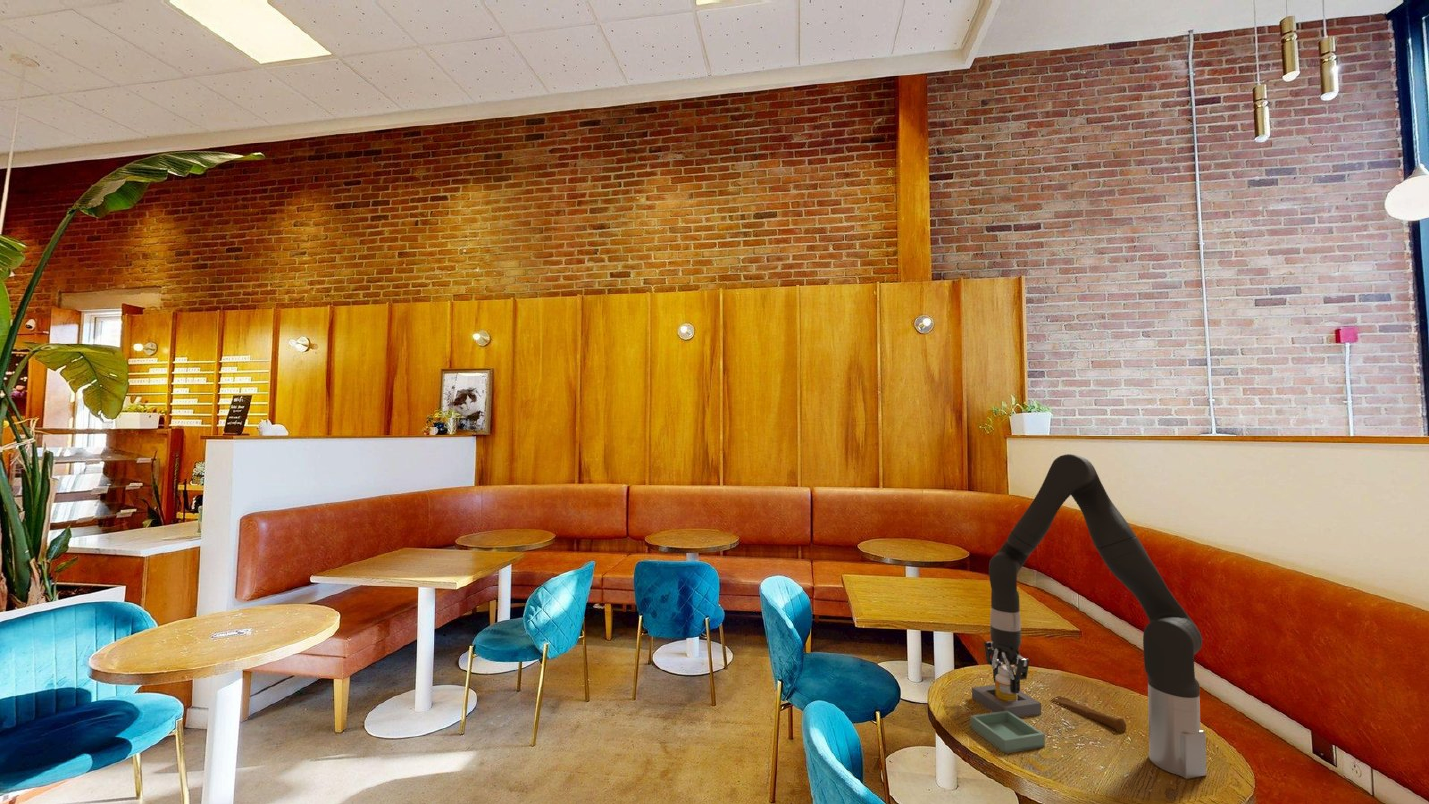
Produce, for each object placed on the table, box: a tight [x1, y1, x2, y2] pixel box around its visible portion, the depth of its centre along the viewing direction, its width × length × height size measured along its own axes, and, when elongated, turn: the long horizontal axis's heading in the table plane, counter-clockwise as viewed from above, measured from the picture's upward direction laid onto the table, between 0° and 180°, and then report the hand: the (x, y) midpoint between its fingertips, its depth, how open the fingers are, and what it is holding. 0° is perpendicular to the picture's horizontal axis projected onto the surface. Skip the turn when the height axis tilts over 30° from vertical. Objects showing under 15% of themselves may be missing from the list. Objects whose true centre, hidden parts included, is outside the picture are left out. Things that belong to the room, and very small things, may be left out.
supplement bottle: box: [994, 665, 1017, 702], centre depth 153 cm, size 5×5×10 cm
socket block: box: [971, 684, 1042, 719], centre depth 153 cm, size 12×12×3 cm
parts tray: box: [969, 711, 1046, 754], centre depth 138 cm, size 12×12×3 cm
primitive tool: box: [1050, 695, 1127, 733], centre depth 150 cm, size 19×6×4 cm, turn 24°
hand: (1006, 687), depth 153 cm, fingers closed on supplement bottle, 5 cm apart
